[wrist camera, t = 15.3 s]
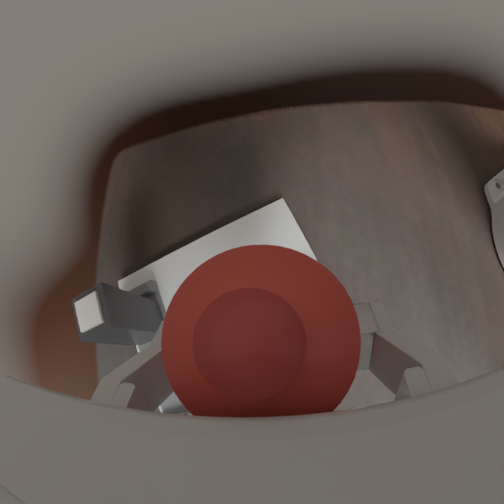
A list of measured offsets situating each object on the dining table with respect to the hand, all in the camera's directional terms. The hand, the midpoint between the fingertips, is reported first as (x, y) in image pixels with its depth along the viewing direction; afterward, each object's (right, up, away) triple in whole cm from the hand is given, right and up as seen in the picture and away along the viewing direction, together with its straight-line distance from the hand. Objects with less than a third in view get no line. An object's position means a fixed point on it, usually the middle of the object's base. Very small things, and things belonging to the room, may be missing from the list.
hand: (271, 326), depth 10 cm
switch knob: (-11, -5, +17) cm, 21 cm away
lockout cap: (+1, -2, +4) cm, 4 cm away
